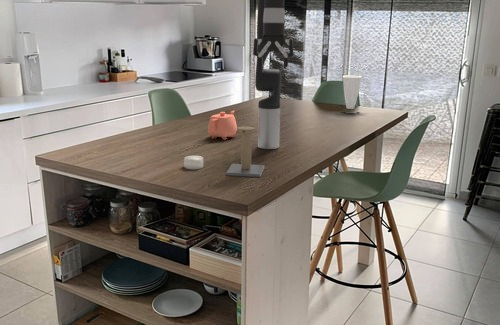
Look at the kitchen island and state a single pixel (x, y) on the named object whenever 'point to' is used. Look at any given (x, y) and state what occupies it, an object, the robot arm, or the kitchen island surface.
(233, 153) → the kitchen island surface
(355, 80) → the cup
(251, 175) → the coaster
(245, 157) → the handle
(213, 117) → the teapot
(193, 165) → the white dome knob
